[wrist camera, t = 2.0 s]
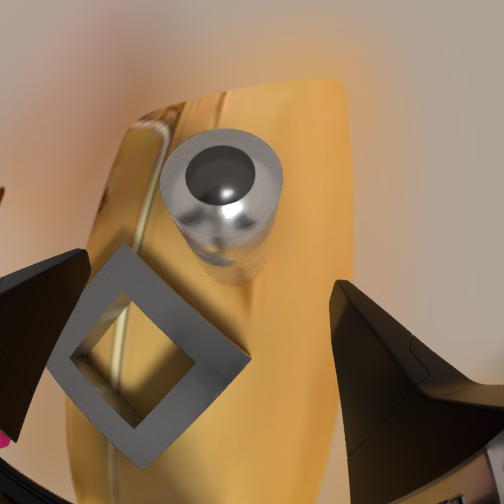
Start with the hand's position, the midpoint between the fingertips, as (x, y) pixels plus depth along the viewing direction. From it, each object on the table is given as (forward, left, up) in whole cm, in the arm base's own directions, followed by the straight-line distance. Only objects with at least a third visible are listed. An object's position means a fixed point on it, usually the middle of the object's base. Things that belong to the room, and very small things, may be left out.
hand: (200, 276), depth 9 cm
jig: (-7, +2, -11) cm, 14 cm away
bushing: (+4, +2, -11) cm, 12 cm away
